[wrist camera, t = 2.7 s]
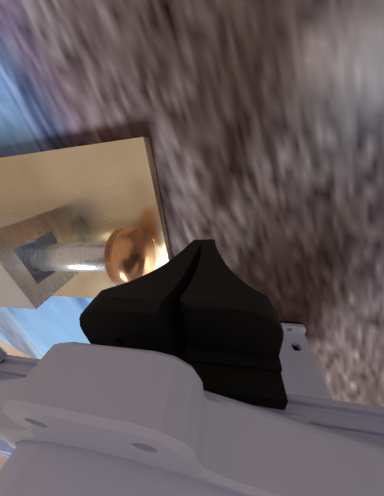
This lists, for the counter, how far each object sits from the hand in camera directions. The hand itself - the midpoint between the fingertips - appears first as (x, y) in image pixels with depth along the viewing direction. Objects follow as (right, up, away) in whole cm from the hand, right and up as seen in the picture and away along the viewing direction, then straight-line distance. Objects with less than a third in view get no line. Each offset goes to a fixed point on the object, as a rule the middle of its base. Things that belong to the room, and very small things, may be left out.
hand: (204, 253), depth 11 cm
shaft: (-9, +1, +3) cm, 10 cm away
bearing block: (-12, +1, +5) cm, 13 cm away
